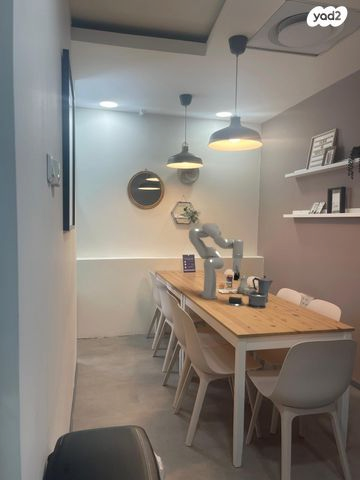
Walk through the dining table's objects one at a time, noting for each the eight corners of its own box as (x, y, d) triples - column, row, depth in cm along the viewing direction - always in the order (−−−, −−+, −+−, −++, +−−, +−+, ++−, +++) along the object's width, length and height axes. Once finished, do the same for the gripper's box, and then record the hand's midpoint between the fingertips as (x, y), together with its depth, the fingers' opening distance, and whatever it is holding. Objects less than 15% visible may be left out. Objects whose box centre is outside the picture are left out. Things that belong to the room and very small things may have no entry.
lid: (225, 305, 249) (225, 298, 249) (227, 301, 261) (228, 295, 261) (243, 307, 245) (243, 300, 245) (244, 303, 258) (245, 296, 257)
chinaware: (253, 299, 280) (257, 279, 279) (233, 295, 285) (236, 275, 284) (257, 293, 307) (260, 275, 305) (238, 289, 312) (241, 271, 310)
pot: (247, 307, 245) (247, 294, 244) (248, 303, 257) (249, 291, 256) (265, 309, 241) (265, 296, 241) (266, 305, 253) (266, 293, 253)
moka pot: (272, 303, 260) (273, 277, 259) (251, 301, 263) (252, 275, 262) (271, 300, 269) (272, 275, 268) (251, 299, 272) (252, 274, 271)
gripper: (233, 255, 261) (232, 277, 262) (230, 256, 244) (229, 280, 245) (243, 255, 259) (242, 278, 260) (241, 257, 242) (240, 281, 243)
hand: (236, 279), depth 252 cm, fingers open, 9 cm apart
